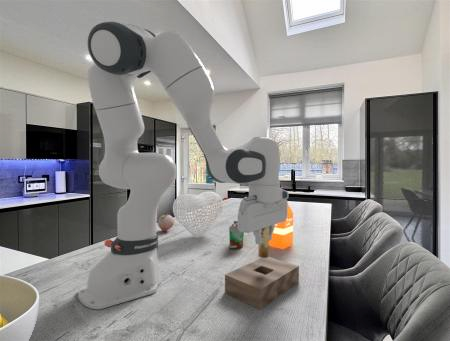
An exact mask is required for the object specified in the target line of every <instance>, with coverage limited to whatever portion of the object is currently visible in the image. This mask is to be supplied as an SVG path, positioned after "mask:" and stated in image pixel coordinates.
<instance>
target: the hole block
mask: <svg viewBox="0 0 450 341" xmlns="http://www.w3.org/2000/svg"><path fill="white" fill-rule="evenodd" d="M299 278H300V266H299V265H297V264H294V263H290V262H286V261H284V260H281V259H278V258H273V257H271V256H269V257H267V258H261V257H259V259H256V260H254V261H252V262H250V263H247V264H245V265H243V266H240V267H239V268H236V269H235V270H232V271H230V272H228V273H226V274H224V294H227V295H230V296H231V297H234V298H236V299H237V300H239V301H242V302H243V303H245V304H248V305H250V306H252V307H255V308H256V309H258V310H262V309H264V307H265V308H266V306H267V305H269V304H271V303H272V302H273V301H274V300H276V299H278V298H279V297H280V296H282V295H283V294H284V293H286V292H287V291H288V290H290V289H292V288H293V287H294V286H295V285H297V284H299V282H300V279H299Z"/></svg>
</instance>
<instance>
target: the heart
mask: <svg viewBox="0 0 450 341" xmlns="http://www.w3.org/2000/svg"><path fill="white" fill-rule="evenodd" d="M223 208H224V200H223V198H222V197H221V195H220V194H218V192H214V191H210V190H207V191H203V192H200V193H199V194H194V193H183V194H180V195H178V196H177V197H176V199H174V201H173V204H172V213H173V216H174V217H175V219H176V220H177V221H178V223H179V224H180V225H181V226H183V227H184V228H185V229H186V230H187V231H188V232H189V233H190V234H191V235H192V236H193V237H194V238H195V237H196V238H198V239H199V238H201V237H203V236H204V235H205V234H206V233H207V231H208V230H209V229H210V228H211V226H212V225H213V224H214V222H216V221H217V219H218V218H219V216H221V213H222V212H223Z"/></svg>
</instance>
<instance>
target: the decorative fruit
mask: <svg viewBox="0 0 450 341" xmlns="http://www.w3.org/2000/svg"><path fill="white" fill-rule="evenodd" d="M174 224H175V219H174V217H173V216H172V215H171V214H169V213H166V212H165V214H164V215H161V216H160V217H159V218H158V219H157V226H158V228H159V229H160V230H161V231H163V232H167V231H169V230H170V229H172V228H173V227H174Z"/></svg>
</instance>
